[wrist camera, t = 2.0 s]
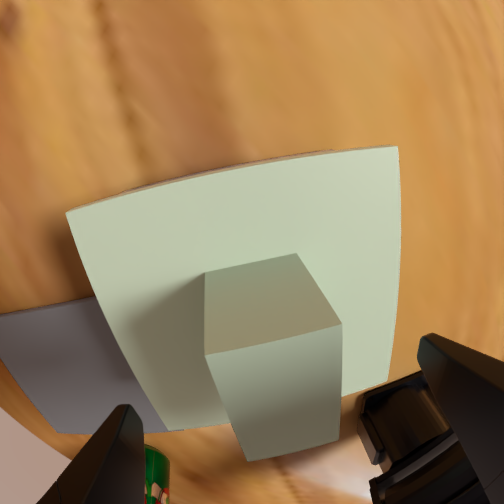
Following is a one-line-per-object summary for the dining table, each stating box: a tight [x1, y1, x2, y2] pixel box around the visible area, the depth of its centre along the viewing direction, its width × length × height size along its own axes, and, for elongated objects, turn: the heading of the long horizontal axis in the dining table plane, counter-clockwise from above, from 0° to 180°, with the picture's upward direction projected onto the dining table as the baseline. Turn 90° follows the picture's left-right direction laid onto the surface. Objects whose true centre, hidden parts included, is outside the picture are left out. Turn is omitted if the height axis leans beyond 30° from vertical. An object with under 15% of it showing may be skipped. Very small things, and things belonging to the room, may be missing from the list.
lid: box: [66, 145, 401, 462], centre depth 9 cm, size 11×11×5 cm
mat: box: [0, 296, 184, 434], centre depth 17 cm, size 12×12×1 cm
